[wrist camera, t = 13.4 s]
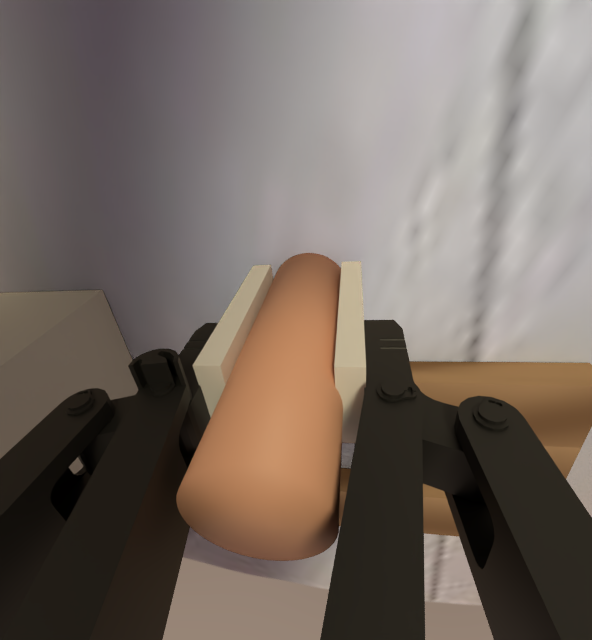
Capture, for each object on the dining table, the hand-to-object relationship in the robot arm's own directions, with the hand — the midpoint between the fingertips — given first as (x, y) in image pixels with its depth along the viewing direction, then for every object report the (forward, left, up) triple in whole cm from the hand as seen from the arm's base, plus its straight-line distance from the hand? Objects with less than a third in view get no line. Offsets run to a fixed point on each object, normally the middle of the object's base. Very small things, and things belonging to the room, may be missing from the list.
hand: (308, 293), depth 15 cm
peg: (0, 0, -1) cm, 1 cm away
